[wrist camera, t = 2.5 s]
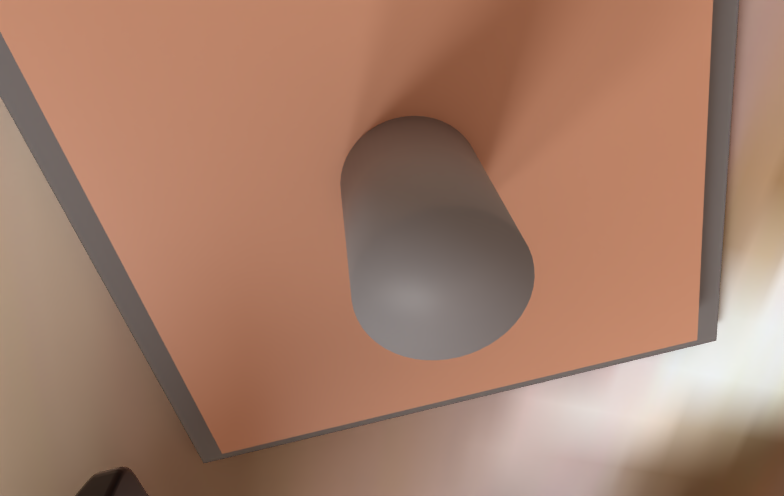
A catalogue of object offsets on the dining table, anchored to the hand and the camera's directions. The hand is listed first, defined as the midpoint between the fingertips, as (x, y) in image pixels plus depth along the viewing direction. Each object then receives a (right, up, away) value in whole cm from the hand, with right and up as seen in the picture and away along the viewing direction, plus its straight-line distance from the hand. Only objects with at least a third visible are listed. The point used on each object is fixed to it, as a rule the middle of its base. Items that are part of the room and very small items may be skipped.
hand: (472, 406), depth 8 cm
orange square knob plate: (-1, +4, +6) cm, 7 cm away
